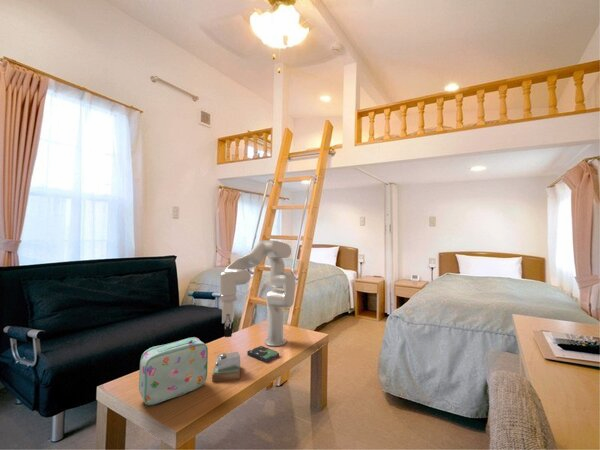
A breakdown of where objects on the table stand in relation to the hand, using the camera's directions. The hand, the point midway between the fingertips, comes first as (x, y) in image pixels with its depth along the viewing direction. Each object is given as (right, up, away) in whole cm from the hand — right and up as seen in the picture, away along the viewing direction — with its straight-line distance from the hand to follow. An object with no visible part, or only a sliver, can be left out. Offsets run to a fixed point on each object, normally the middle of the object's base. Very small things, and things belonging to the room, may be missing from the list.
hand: (228, 333), depth 137 cm
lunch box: (-18, -19, -17) cm, 31 cm away
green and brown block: (-1, -19, -2) cm, 19 cm away
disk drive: (+14, -20, +18) cm, 30 cm away
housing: (0, -15, -1) cm, 15 cm away
